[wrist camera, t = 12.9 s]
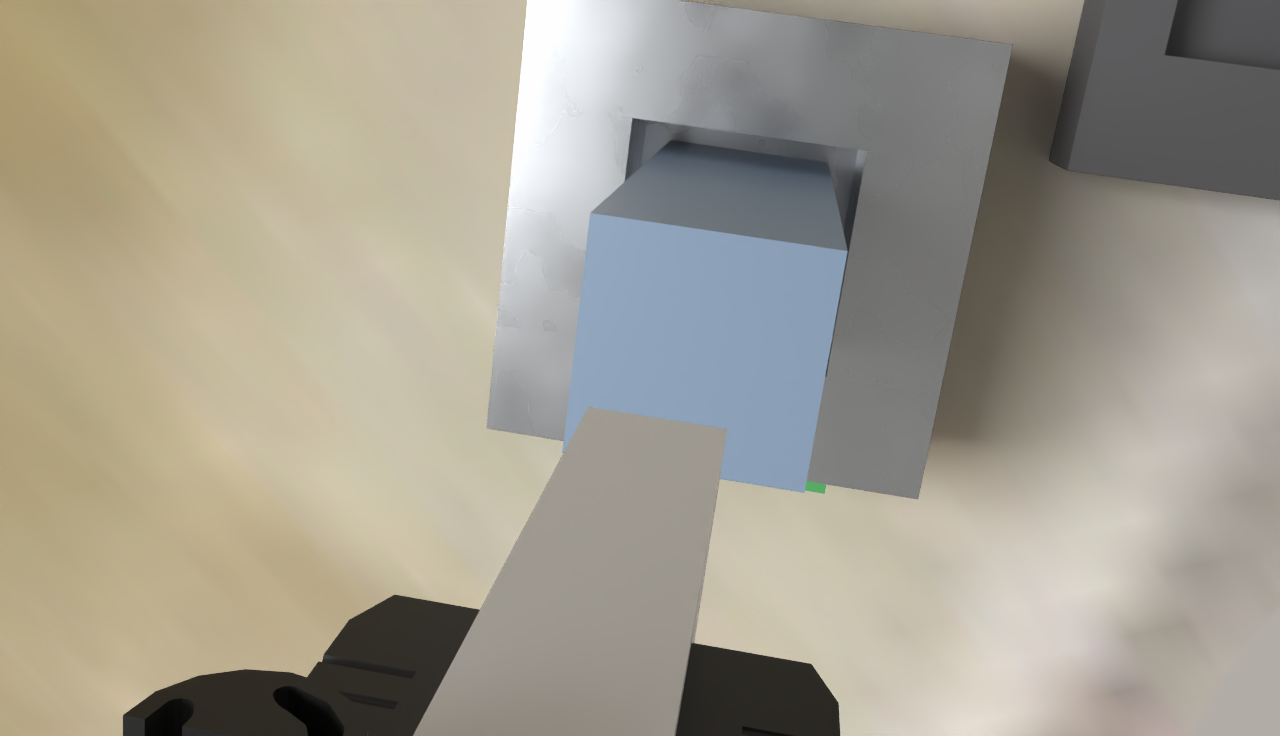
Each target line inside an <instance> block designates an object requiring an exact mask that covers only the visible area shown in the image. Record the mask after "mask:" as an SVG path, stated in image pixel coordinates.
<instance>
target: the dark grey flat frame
mask: <svg viewBox="0 0 1280 736" xmlns="http://www.w3.org/2000/svg"><path fill="white" fill-rule="evenodd" d="M1049 161H1051V162H1053V163H1054V164H1056V165H1058V166H1060V167H1062V168H1064V169H1065V170H1067V171H1074V172H1081V173H1088V174H1095V175H1102V176H1110V177H1117V178H1124V179H1131V180H1138V181H1145V182H1152V183H1160V184H1167V185H1174V186H1181V187H1188V188H1195V189H1202V190H1209V191H1217V192H1224V193H1231V194H1238V195H1245V196H1252V197H1259V198H1266V199H1274V200H1280V0H1085V1H1084V6H1083V10H1082V15H1081V19H1080V23H1079V28H1078V32H1077V37H1076V41H1075V46H1074V50H1073V55H1072V59H1071V64H1070V68H1069V73H1068V77H1067V82H1066V86H1065V91H1064V95H1063V100H1062V104H1061V109H1060V113H1059V118H1058V122H1057V127H1056V131H1055V136H1054V140H1053V145H1052V149H1051V154H1050V158H1049Z"/></svg>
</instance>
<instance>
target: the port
mask: <svg viewBox="0 0 1280 736" xmlns="http://www.w3.org/2000/svg"><path fill="white" fill-rule="evenodd" d="M1012 46H1013V44H1005V43H998V42H990V41H982V40H975V39H967V38H960V37H952V36H945V35H937V34H929V33H922V32H914V31H907V30H899V29H892V28H884V27H876V26H869V25H861V24H854V23H846V22H839V21H831V20H823V19H816V18H808V17H801V16H793V15H786V14H778V13H770V12H763V11H755V10H748V9H740V8H733V7H725V6H717V5H710V4H702V3H695V2H687V1H680V0H528V3H527V13H526V23H525V34H524V44H523V55H522V65H521V75H520V86H519V96H518V107H517V117H516V127H515V138H514V148H513V159H512V169H511V179H510V190H509V200H508V211H507V221H506V231H505V242H504V252H503V263H502V273H501V283H500V294H499V304H498V315H497V325H496V336H495V346H494V356H493V367H492V377H491V388H490V398H489V408H488V419H487V429H493V430H499V431H506V432H512V433H518V434H524V435H530V436H536V437H542V438H548V439H554V440H560V441H564V434H565V426H566V417H567V409H568V400H569V391H570V383H571V374H572V365H573V357H574V348H575V340H576V331H577V322H578V314H579V305H580V296H581V288H582V279H583V270H584V262H585V253H586V245H587V236H588V227H589V219H590V213H591V212H592V211H593V210H594V209H595V208H596V207H597V206H598V205H600V204H601V203H602V202H603V201H604V200H605V199H606V198H607V197H608V196H609V195H611V194H612V193H613V192H614V191H615V190H616V189H617V188H618V187H619V186H621V185H622V184H623V183H624V182H625V181H626V180H627V179H628V178H629V177H630V176H632V175H633V174H634V173H635V172H636V171H637V170H638V169H639V168H640V167H642V166H643V165H644V164H645V163H646V162H647V161H648V160H649V159H650V158H652V157H653V156H654V155H655V154H656V153H657V152H658V151H659V150H660V149H661V148H663V147H664V146H665V145H666V144H667V143H668V142H669V141H670V140H673V141H680V142H688V143H695V144H702V145H709V146H716V147H723V148H730V149H737V150H744V151H751V152H758V153H765V154H772V155H779V156H786V157H793V158H800V159H807V160H814V161H821V162H828V163H829V168H830V172H831V177H832V182H833V186H834V191H835V195H836V200H837V205H838V209H839V214H840V218H841V223H842V227H843V232H844V237H845V241H846V246H847V250H848V252H847V257H846V263H845V269H844V274H843V280H842V285H841V291H840V297H839V302H838V308H837V313H836V319H835V324H834V330H833V336H832V341H831V347H830V352H829V358H828V364H827V369H826V375H825V380H824V386H823V392H822V397H821V403H820V408H819V414H818V420H817V425H816V431H815V436H814V442H813V447H812V453H811V459H810V464H809V470H808V475H807V481H806V487H805V490H806V491H812V492H818V493H825V488H826V484H828V485H834V486H840V487H846V488H852V489H858V490H864V491H870V492H876V493H883V494H889V495H895V496H901V497H907V498H913V499H918V497H919V492H920V488H921V483H922V478H923V473H924V468H925V464H926V459H927V454H928V449H929V444H930V440H931V435H932V430H933V425H934V420H935V416H936V411H937V406H938V401H939V396H940V392H941V387H942V382H943V377H944V372H945V368H946V363H947V358H948V353H949V348H950V344H951V339H952V334H953V329H954V324H955V320H956V315H957V310H958V305H959V300H960V295H961V291H962V286H963V281H964V276H965V271H966V267H967V262H968V257H969V252H970V247H971V243H972V238H973V233H974V228H975V223H976V219H977V214H978V209H979V204H980V199H981V195H982V190H983V185H984V180H985V175H986V171H987V166H988V161H989V156H990V151H991V147H992V142H993V137H994V132H995V127H996V123H997V118H998V113H999V108H1000V103H1001V99H1002V94H1003V89H1004V84H1005V79H1006V75H1007V70H1008V65H1009V60H1010V55H1011V51H1012Z"/></svg>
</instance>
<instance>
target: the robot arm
mask: <svg viewBox="0 0 1280 736" xmlns="http://www.w3.org/2000/svg"><path fill="white" fill-rule="evenodd" d="M726 435H727V429H723V428H716V427H710V426H704V425H698V424H692V423H686V422H679V421H673V420H667V419H661V418H655V417H648V416H642V415H636V414H630V413H624V412H617V411H611V410H605V409H599V408H593V407H588V408H587V410H586V412H585V414H584V416H583V418H582V420H581V421H580V423H579V425H578V427H577V429H576V431H575V433H574V435H573V436H572V438H571V440H570V442H569V444H568V446H567V448H566V450H565V451H564V453H563V455H562V457H561V459H560V461H559V463H558V465H557V466H556V468H555V470H554V472H553V474H552V476H551V478H550V480H549V481H548V483H547V485H546V487H545V489H544V491H543V493H542V495H541V496H540V498H539V500H538V502H537V504H536V506H535V508H534V510H533V511H532V513H531V515H530V517H529V519H528V521H527V523H526V525H525V526H524V528H523V530H522V532H521V534H520V536H519V538H518V540H517V541H516V543H515V545H514V547H513V549H512V551H511V553H510V555H509V557H508V558H507V560H506V562H505V564H504V566H503V568H502V570H501V572H500V573H499V575H498V577H497V579H496V581H495V583H494V585H493V587H492V588H491V590H490V592H489V594H488V596H487V598H486V600H485V602H484V603H483V605H482V607H481V609H480V610H478V609H472V608H467V607H461V606H455V605H450V604H444V603H439V602H433V601H427V600H422V599H416V598H410V597H405V596H399V595H393V596H392V597H390V598H388V599H386V600H384V601H383V602H381V603H379V604H377V605H375V606H374V607H372V608H370V609H368V610H366V611H365V612H363V613H361V614H359V615H357V616H356V617H354V618H352V619H350V620H349V621H348V623H347V624H346V625H345V627H344V628H343V629H342V631H341V632H340V633H339V635H338V636H337V637H336V639H335V640H334V641H333V643H332V644H331V646H330V647H329V648H328V650H327V651H326V652H325V654H324V656H323V661H322V662H318V663H317V665H316V666H315V667H314V669H313V670H312V671H311V673H310V674H309V675H308V677H307V678H306V677H303V676H300V675H297V674H294V673H290V672H275V671H261V670H246V669H245V670H238V671H230V672H223V673H216V674H208V675H201V676H197V677H194V678H191V679H189V680H186V681H183V682H180V683H178V684H175V685H172V686H170V687H167V688H164V689H161V690H159V691H156V692H154V693H153V694H152V695H150V696H149V697H148V698H146V699H145V700H143V701H142V702H141V703H139V704H138V705H136V706H135V707H134V708H132V709H131V710H130V711H128V712H127V713H125V714H124V715H123V736H840V723H839V705H838V702H837V700H836V699H835V697H834V696H833V695H832V693H831V692H830V690H829V689H828V687H827V686H826V685H825V683H824V682H823V680H822V679H821V677H820V676H819V674H818V673H817V672H816V670H815V669H814V667H813V666H812V664H808V663H803V662H797V661H791V660H786V659H780V658H774V657H769V656H763V655H757V654H752V653H746V652H740V651H735V650H729V649H723V648H718V647H712V646H707V645H701V644H695V643H694V640H695V633H696V627H697V620H698V614H699V608H700V601H701V595H702V588H703V582H704V576H705V569H706V563H707V557H708V550H709V544H710V537H711V531H712V525H713V518H714V512H715V505H716V499H717V493H718V486H719V480H720V474H721V467H722V461H723V454H724V448H725V442H726Z"/></svg>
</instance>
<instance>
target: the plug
mask: <svg viewBox="0 0 1280 736" xmlns="http://www.w3.org/2000/svg"><path fill="white" fill-rule="evenodd" d="M847 252H848V250H847V246H846V241H845V237H844V232H843V227H842V223H841V218H840V214H839V209H838V205H837V200H836V195H835V191H834V186H833V182H832V177H831V172H830V168H829V163H828V162H821V161H814V160H807V159H800V158H793V157H786V156H779V155H772V154H765V153H758V152H751V151H744V150H737V149H730V148H723V147H716V146H709V145H702V144H695V143H688V142H680V141H673V140H670V141H669V142H668V143H667V144H666V145H665V146H664V147H663V148H661V149H660V150H659V151H658V152H657V153H656V154H655V155H654V156H653V157H652V158H650V159H649V160H648V161H647V162H646V163H645V164H644V165H643V166H642V167H640V168H639V169H638V170H637V171H636V172H635V173H634V174H633V175H632V176H630V177H629V178H628V179H627V180H626V181H625V182H624V183H623V184H622V185H621V186H619V187H618V188H617V189H616V190H615V191H614V192H613V193H612V194H611V195H609V196H608V197H607V198H606V199H605V200H604V201H603V202H602V203H601V204H600V205H598V206H597V207H596V208H595V209H594V210H593V211H592V212H591V213H590V219H589V227H588V236H587V245H586V253H585V262H584V270H583V279H582V288H581V296H580V305H579V314H578V322H577V331H576V340H575V348H574V357H573V365H572V374H571V383H570V391H569V400H568V409H567V417H566V426H565V434H564V443H563V452H562V453H564V451H565V450H566V448H567V446H568V444H569V442H570V440H571V438H572V436H573V435H574V433H575V431H576V429H577V427H578V425H579V423H580V421H581V420H582V418H583V416H584V414H585V412H586V410H587V408H588V407H593V408H599V409H605V410H611V411H617V412H624V413H630V414H636V415H642V416H648V417H655V418H661V419H667V420H673V421H679V422H686V423H692V424H698V425H704V426H710V427H716V428H723V429H727V435H726V442H725V448H724V454H723V461H722V467H721V474H720V479H724V480H730V481H736V482H742V483H748V484H754V485H760V486H766V487H772V488H778V489H784V490H790V491H796V492H803V493H804V492H805V487H806V481H807V475H808V470H809V464H810V459H811V453H812V447H813V442H814V436H815V431H816V425H817V420H818V414H819V408H820V403H821V397H822V392H823V386H824V380H825V375H826V369H827V364H828V358H829V352H830V347H831V341H832V336H833V330H834V324H835V319H836V313H837V308H838V302H839V297H840V291H841V285H842V280H843V274H844V269H845V263H846V257H847Z"/></svg>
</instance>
